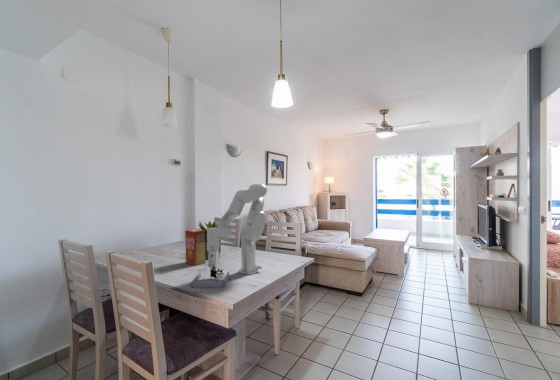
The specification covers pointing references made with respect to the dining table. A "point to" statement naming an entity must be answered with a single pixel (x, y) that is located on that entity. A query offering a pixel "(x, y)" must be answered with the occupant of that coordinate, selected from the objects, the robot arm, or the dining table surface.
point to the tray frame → (208, 282)
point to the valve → (219, 275)
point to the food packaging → (195, 246)
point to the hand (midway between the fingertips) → (213, 276)
